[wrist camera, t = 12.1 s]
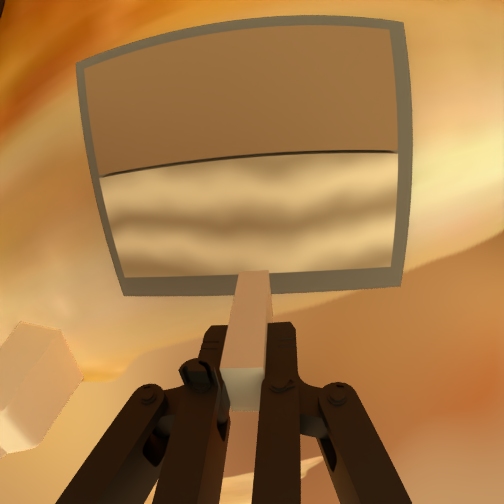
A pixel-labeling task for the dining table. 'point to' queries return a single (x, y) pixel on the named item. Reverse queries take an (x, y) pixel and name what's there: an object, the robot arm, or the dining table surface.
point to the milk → (33, 384)
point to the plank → (255, 213)
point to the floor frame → (252, 116)
